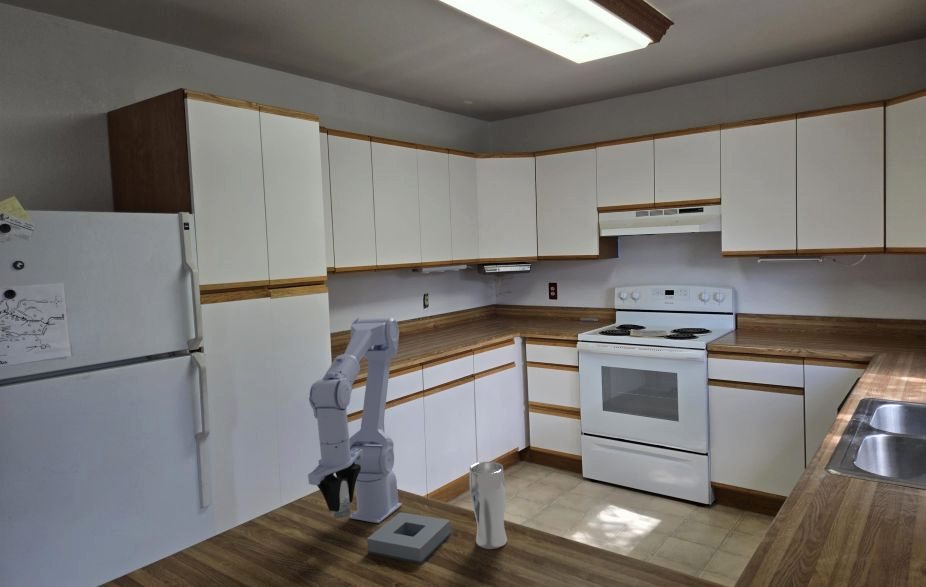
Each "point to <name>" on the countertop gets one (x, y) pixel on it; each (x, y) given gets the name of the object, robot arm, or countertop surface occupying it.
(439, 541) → the hole block
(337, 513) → the peg
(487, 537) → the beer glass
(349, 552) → the countertop surface
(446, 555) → the countertop surface
